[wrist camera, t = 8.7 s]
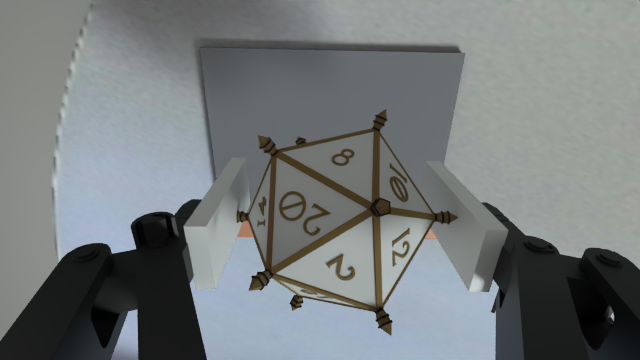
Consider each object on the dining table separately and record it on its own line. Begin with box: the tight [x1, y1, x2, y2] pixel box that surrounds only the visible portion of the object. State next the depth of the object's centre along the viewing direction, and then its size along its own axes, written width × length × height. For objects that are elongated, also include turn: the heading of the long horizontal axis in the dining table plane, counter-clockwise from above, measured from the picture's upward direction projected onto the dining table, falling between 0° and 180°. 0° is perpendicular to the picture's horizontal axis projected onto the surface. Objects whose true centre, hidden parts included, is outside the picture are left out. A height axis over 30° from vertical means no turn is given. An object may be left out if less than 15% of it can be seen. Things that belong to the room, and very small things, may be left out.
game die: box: [236, 109, 458, 335], centre depth 14 cm, size 9×8×10 cm
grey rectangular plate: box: [200, 47, 465, 213], centre depth 24 cm, size 13×18×1 cm
